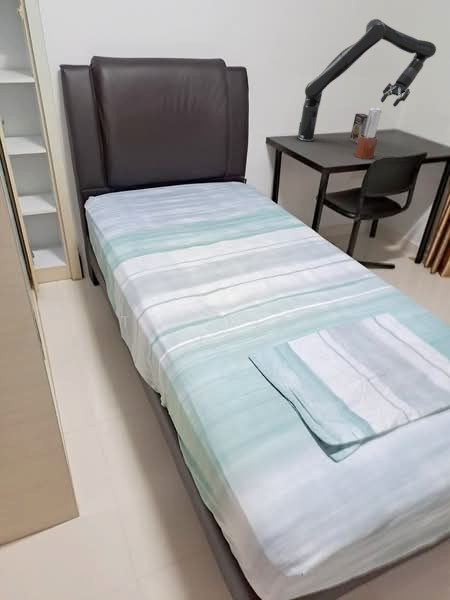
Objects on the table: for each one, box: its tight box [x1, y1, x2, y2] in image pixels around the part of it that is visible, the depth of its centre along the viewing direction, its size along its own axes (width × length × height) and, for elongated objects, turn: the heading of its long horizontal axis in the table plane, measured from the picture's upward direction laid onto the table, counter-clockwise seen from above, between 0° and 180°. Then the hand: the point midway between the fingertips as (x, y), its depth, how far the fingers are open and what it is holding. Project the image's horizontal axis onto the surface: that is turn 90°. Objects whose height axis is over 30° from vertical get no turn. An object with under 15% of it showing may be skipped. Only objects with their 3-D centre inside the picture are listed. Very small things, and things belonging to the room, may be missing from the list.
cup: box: [354, 134, 378, 160], centre depth 247 cm, size 10×10×11 cm
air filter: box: [363, 107, 382, 139], centre depth 243 cm, size 6×6×25 cm
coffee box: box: [349, 113, 368, 145], centre depth 271 cm, size 9×6×16 cm
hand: (387, 103), depth 241 cm, fingers open, 8 cm apart
